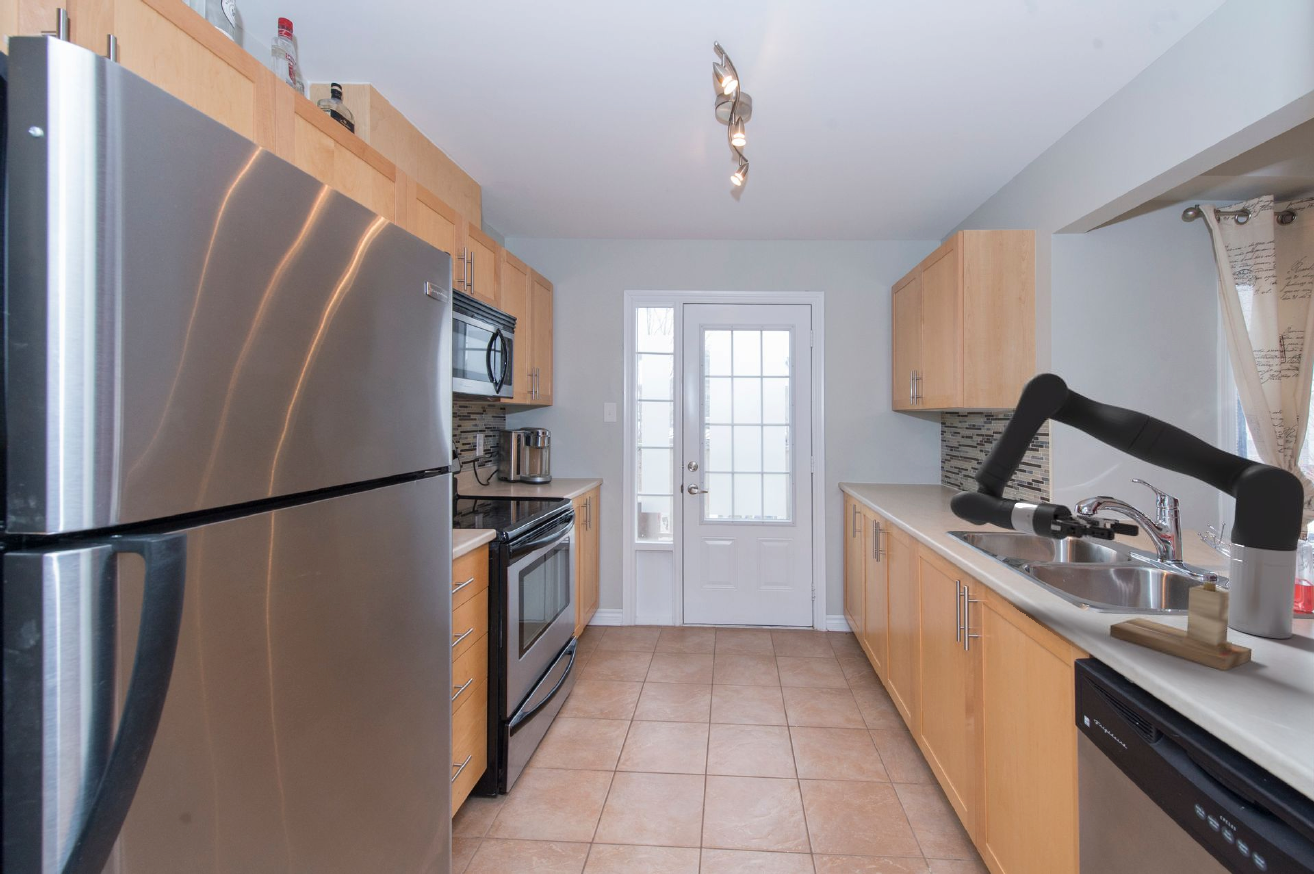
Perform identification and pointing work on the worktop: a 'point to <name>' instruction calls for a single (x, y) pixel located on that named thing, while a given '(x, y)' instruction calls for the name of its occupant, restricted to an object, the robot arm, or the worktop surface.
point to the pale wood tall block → (1208, 619)
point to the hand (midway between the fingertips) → (1126, 533)
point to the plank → (1176, 643)
